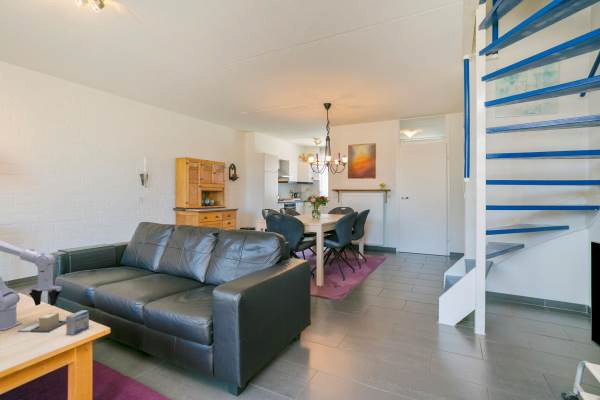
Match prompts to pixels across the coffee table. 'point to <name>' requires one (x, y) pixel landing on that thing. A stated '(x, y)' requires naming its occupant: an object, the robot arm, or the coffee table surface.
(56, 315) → the box
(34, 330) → the grey square frame
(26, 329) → the pad
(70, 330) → the medicine box
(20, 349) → the coffee table surface
